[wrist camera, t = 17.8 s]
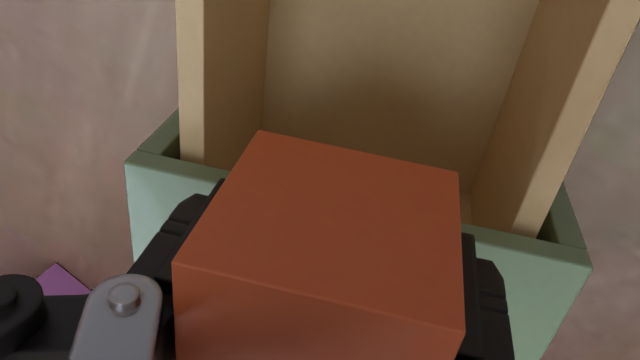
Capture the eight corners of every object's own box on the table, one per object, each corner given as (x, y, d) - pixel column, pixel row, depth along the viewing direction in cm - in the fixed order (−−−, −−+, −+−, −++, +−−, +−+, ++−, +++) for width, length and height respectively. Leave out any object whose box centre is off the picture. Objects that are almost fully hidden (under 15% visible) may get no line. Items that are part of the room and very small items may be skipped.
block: (257, 128, 12) (169, 261, 8) (459, 171, 11) (467, 333, 8) (248, 273, 14) (177, 426, 11) (411, 312, 14) (399, 487, 10)
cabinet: (232, 54, 23) (121, 161, 15) (540, 115, 22) (594, 268, 14) (225, 284, 31) (151, 432, 23) (448, 339, 30) (450, 516, 22)
